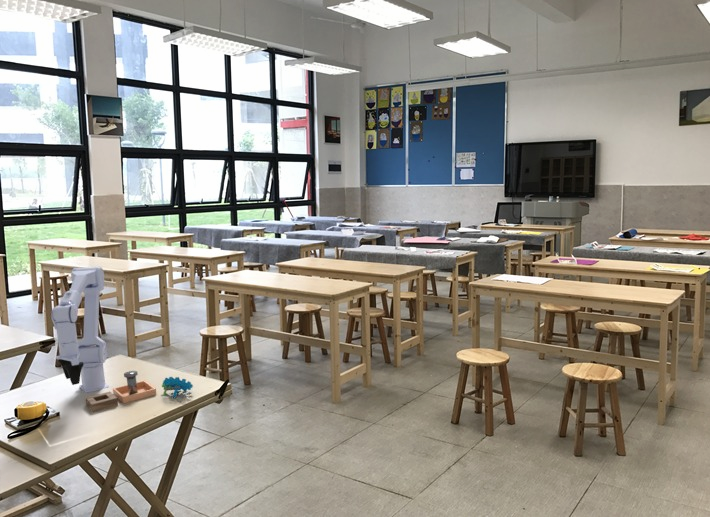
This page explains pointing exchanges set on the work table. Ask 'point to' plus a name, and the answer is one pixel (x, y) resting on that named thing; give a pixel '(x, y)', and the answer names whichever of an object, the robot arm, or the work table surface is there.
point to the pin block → (101, 401)
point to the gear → (176, 385)
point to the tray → (143, 392)
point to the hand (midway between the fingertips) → (72, 380)
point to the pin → (131, 381)
